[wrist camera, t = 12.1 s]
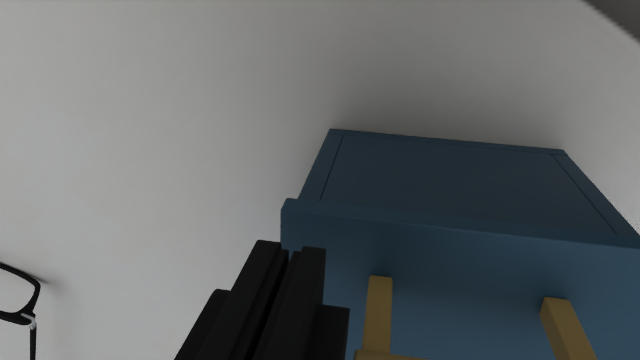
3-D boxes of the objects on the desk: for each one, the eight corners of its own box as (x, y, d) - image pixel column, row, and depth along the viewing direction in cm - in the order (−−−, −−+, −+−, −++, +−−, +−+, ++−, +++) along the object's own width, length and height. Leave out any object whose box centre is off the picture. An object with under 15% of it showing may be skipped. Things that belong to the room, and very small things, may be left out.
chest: (329, 128, 25) (288, 217, 16) (563, 149, 23) (663, 260, 14) (317, 341, 30) (281, 498, 21) (506, 369, 29) (554, 548, 20)
